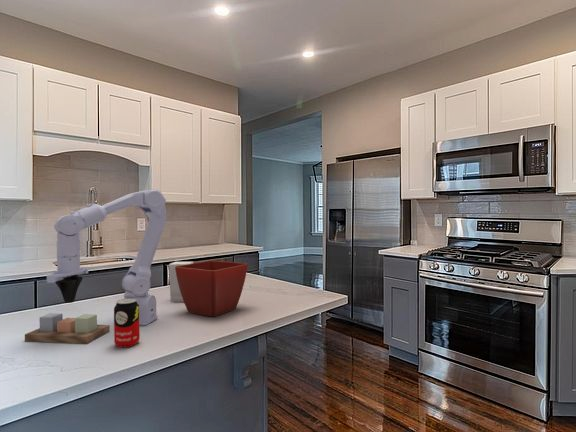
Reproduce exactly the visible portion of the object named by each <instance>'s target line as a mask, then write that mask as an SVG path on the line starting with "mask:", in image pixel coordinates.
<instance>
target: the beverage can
mask: <svg viewBox="0 0 576 432" xmlns="http://www.w3.org/2000/svg"><path fill="white" fill-rule="evenodd" d="M115 303H116V304H115V305H114V308H113V325H114V326H113V327H114V328H113V336H114V337H113V338H114V339H113V340H114V341H113V342H114V344H115V345H116V346H117V347H119V348H129V347H132V346H133V347H134V345H136V344H137V343H139V341H140V336H141V335H140V325H139V305H138V303H137V299H133V298H128V299H124V298H123V299H122V298H121V299H118V300H116V302H115Z"/></svg>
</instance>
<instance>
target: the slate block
mask: <svg viewBox="0 0 576 432" xmlns="http://www.w3.org/2000/svg"><path fill="white" fill-rule="evenodd" d="M63 316H64V315H63V313H56V312H55V313H53V312H50V313H47V314H44V315H41V316H39V328H40V331H41V332H54V331H56V330H57V322H58V321H61V320H63V319H64V318H63Z"/></svg>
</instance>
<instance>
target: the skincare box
mask: <svg viewBox="0 0 576 432" xmlns="http://www.w3.org/2000/svg"><path fill="white" fill-rule="evenodd" d="M193 263H194V261H174V262H171V263H169V264H168V270H169V272H168V273H169V297H170V302H171V303H184V301H183V298H182V295H181V292H180V288H179V285H178V280H177V276H176V270H175V267H176V266H181V265H187V264H193Z"/></svg>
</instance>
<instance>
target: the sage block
mask: <svg viewBox="0 0 576 432" xmlns="http://www.w3.org/2000/svg"><path fill="white" fill-rule="evenodd" d="M74 318H75V333H90V332H92V331H94V330H96V329H97V325H98V314H91V313H90V314H88V313H85V314H82V315H79V316H76V317H74Z"/></svg>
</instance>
